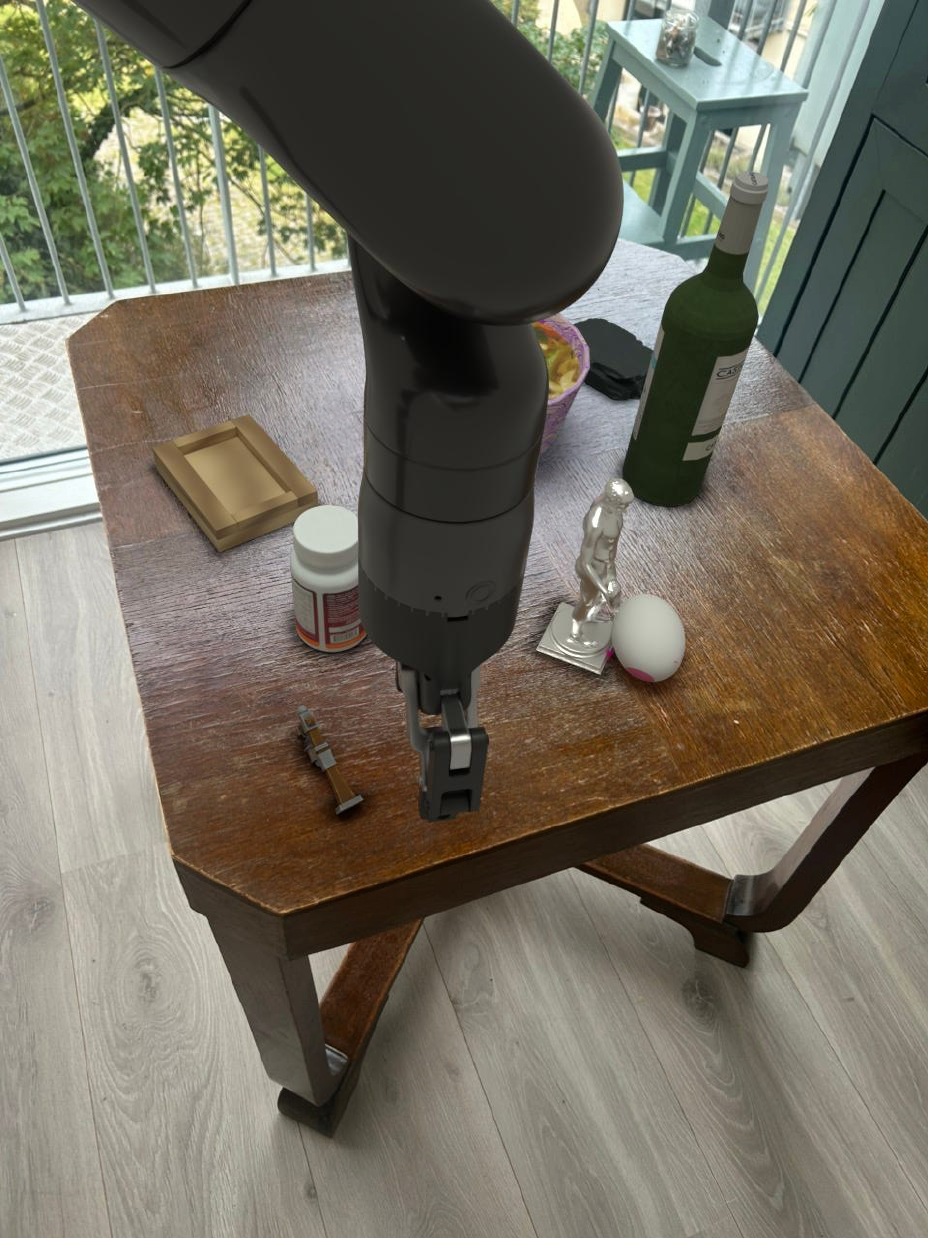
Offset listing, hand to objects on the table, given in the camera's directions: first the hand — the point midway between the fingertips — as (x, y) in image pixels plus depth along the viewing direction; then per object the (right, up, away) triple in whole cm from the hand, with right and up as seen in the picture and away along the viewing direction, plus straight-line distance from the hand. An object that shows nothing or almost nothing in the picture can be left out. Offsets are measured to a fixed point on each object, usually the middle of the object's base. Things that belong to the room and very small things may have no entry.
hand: (425, 747), depth 54 cm
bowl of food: (+3, +25, +42) cm, 49 cm away
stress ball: (+17, +4, +25) cm, 31 cm away
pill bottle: (-9, +7, +25) cm, 27 cm away
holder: (-19, +19, +35) cm, 44 cm away
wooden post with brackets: (-8, -4, +16) cm, 18 cm away
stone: (+18, +35, +52) cm, 66 cm away
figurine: (+12, +5, +26) cm, 29 cm away
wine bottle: (+22, +21, +41) cm, 50 cm away
